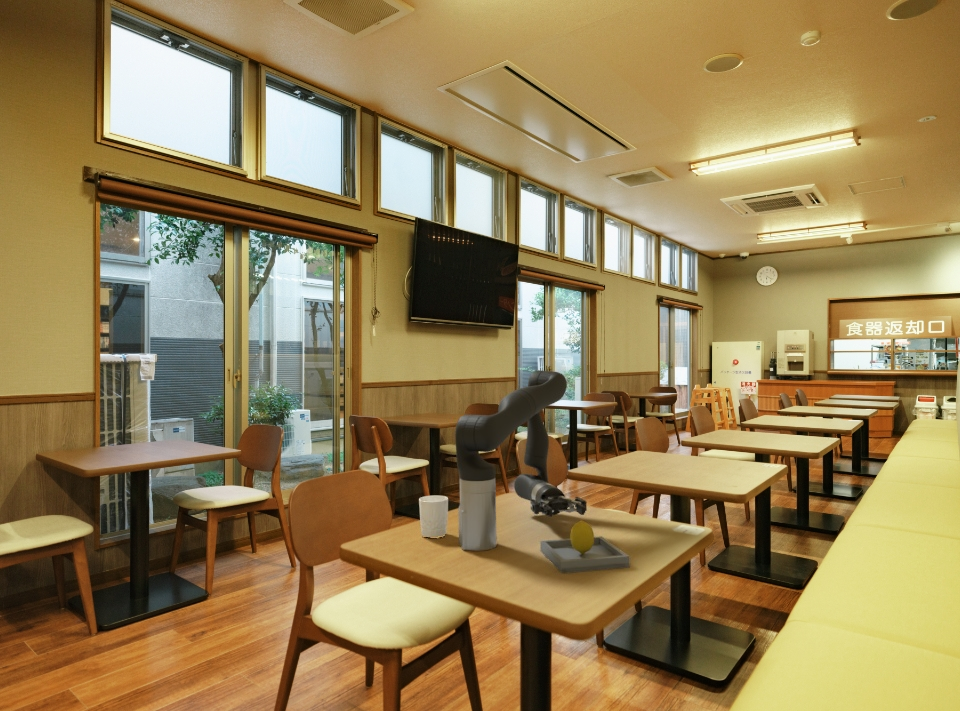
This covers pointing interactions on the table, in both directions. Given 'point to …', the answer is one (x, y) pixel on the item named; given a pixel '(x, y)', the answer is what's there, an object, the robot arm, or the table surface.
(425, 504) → the white cup
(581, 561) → the tray
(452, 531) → the table surface
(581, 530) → the lemon
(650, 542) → the table surface
